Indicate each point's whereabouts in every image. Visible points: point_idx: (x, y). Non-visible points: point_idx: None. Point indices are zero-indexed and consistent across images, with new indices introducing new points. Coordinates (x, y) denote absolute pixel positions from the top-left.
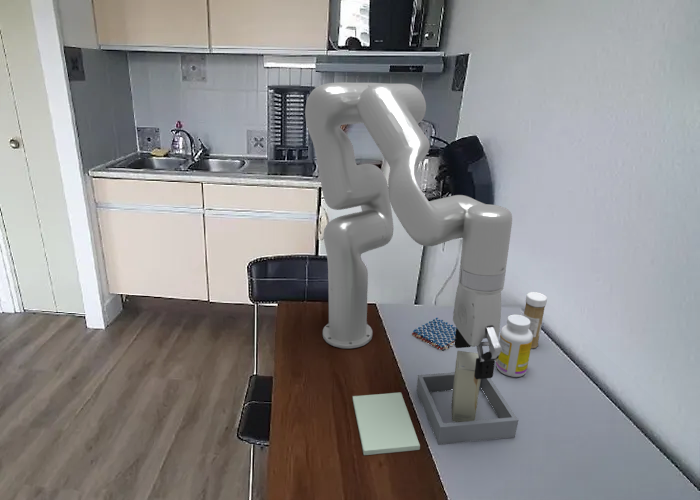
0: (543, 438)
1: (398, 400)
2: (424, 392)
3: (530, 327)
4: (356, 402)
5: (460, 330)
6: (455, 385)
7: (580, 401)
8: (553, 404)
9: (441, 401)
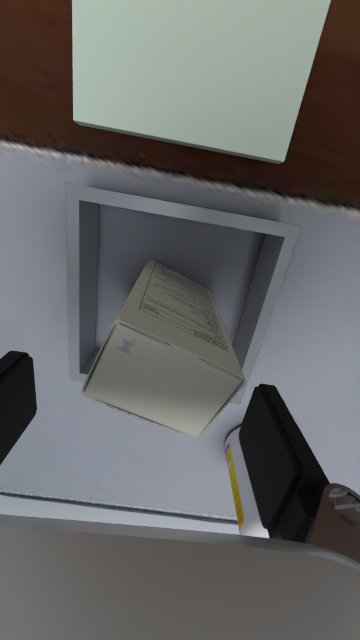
0: (78, 392)
1: (255, 136)
2: (223, 212)
3: None
4: None
5: (119, 580)
6: (151, 292)
7: (143, 479)
8: (147, 447)
9: (219, 268)
